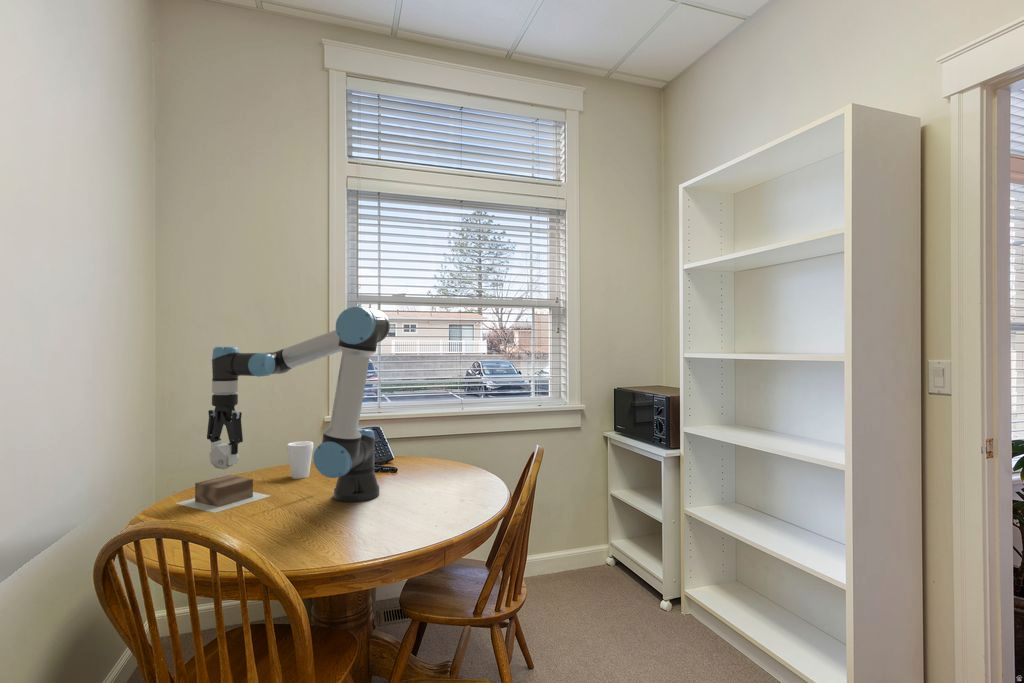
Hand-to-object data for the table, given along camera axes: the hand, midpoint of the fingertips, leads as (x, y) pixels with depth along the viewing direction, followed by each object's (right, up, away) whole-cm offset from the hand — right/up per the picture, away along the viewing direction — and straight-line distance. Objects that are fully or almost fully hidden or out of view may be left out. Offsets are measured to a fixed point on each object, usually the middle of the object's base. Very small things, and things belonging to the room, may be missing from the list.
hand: (224, 462), depth 172 cm
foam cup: (+12, -13, +33) cm, 38 cm away
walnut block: (0, -12, 0) cm, 12 cm away
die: (0, -2, 0) cm, 2 cm away
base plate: (0, -13, 0) cm, 13 cm away
